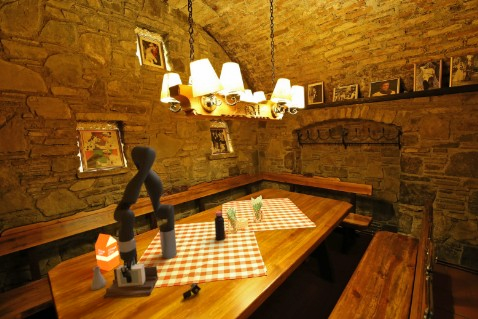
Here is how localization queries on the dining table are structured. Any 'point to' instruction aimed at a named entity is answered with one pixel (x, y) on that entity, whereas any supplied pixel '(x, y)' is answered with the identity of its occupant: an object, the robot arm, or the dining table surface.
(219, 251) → the dining table surface
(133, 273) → the white rectangular block
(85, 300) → the dining table surface
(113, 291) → the picture ledge
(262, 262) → the dining table surface
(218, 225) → the bottle
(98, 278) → the flask
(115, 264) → the orange juice
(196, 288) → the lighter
